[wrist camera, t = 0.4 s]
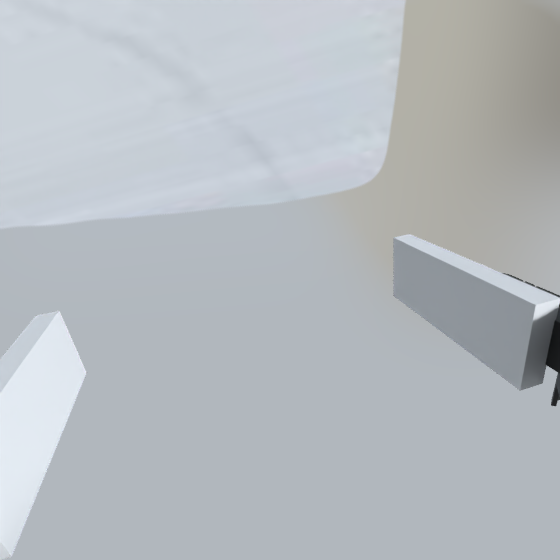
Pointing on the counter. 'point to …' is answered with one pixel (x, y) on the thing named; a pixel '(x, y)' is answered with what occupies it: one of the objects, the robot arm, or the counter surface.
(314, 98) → the counter surface
